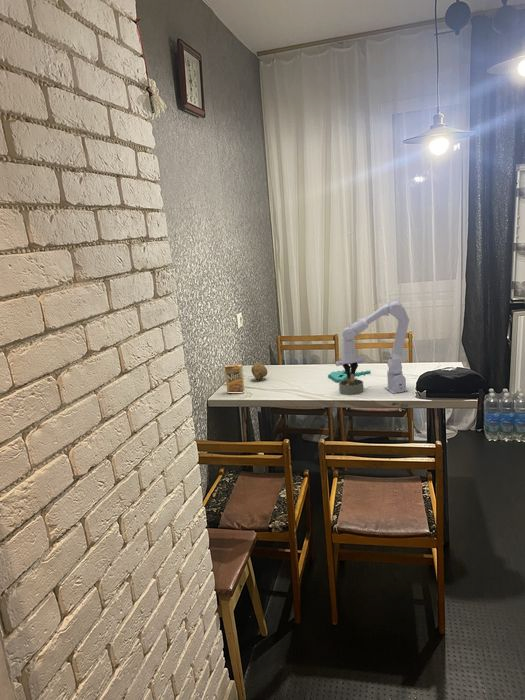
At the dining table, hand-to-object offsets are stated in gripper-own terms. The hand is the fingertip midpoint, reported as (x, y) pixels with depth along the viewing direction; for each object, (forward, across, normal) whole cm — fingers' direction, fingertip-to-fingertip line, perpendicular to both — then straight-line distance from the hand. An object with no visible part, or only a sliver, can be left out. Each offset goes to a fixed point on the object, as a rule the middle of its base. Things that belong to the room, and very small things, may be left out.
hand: (350, 377), depth 250 cm
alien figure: (+8, -7, -23) cm, 25 cm away
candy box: (+7, +55, -26) cm, 61 cm away
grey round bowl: (+7, 0, 0) cm, 7 cm away
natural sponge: (+7, +38, -43) cm, 58 cm away
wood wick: (+5, 0, 0) cm, 5 cm away
